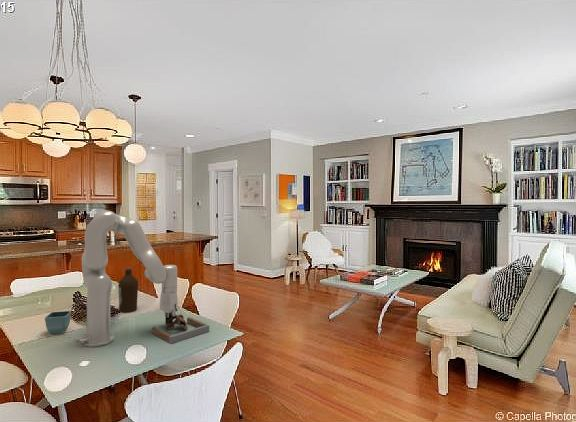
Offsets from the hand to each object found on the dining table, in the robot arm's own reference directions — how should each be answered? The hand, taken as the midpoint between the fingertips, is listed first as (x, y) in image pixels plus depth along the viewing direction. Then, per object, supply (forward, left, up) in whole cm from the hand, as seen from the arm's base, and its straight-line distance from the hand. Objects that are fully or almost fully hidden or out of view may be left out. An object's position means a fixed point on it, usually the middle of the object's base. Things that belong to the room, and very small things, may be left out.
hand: (169, 324), depth 178 cm
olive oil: (-3, +40, -1) cm, 41 cm away
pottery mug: (+1, -6, -1) cm, 7 cm away
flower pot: (-41, +30, -1) cm, 51 cm away
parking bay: (0, -11, -1) cm, 11 cm away
